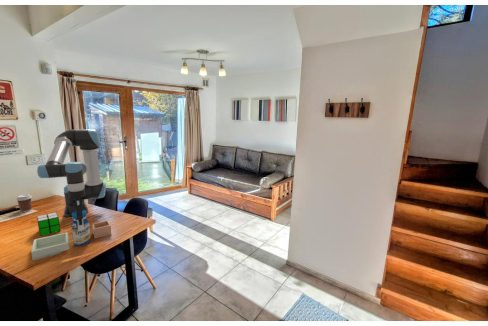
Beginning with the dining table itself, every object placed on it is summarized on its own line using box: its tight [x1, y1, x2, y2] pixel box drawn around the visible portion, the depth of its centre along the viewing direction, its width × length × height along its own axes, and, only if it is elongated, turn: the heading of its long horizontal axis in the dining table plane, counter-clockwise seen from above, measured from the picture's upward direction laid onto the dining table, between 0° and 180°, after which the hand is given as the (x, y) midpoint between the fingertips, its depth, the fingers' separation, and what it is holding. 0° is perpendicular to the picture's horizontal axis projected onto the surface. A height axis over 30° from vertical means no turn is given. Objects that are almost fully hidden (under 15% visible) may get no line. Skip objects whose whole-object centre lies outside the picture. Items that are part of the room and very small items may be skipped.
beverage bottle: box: [71, 210, 92, 247], centre depth 133 cm, size 8×8×20 cm
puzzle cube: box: [36, 212, 61, 237], centre depth 149 cm, size 10×10×10 cm
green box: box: [31, 232, 70, 261], centre depth 129 cm, size 15×15×5 cm
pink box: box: [91, 219, 112, 239], centre depth 146 cm, size 9×9×7 cm
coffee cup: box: [15, 193, 33, 213], centre depth 180 cm, size 9×9×12 cm
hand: (80, 225), depth 133 cm, fingers open, 13 cm apart
